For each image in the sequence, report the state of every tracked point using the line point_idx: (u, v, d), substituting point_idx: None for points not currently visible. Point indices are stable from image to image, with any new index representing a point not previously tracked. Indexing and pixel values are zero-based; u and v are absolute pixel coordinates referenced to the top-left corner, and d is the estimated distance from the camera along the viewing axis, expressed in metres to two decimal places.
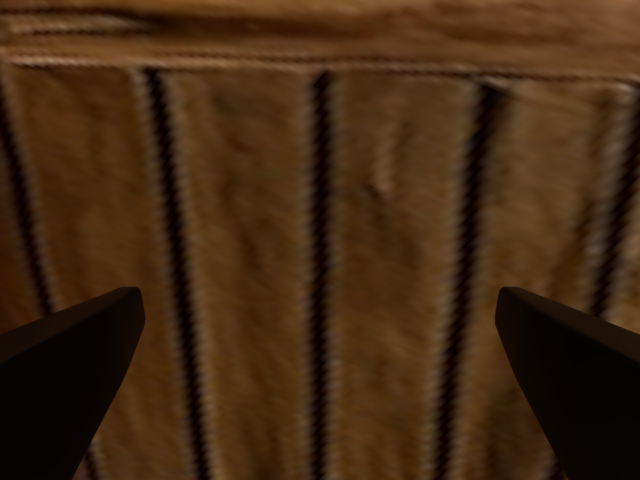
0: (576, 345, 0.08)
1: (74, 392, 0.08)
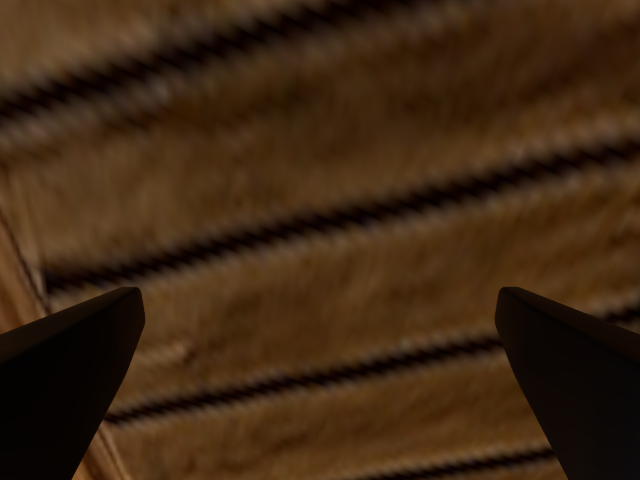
0: (576, 345, 0.08)
1: (74, 392, 0.08)
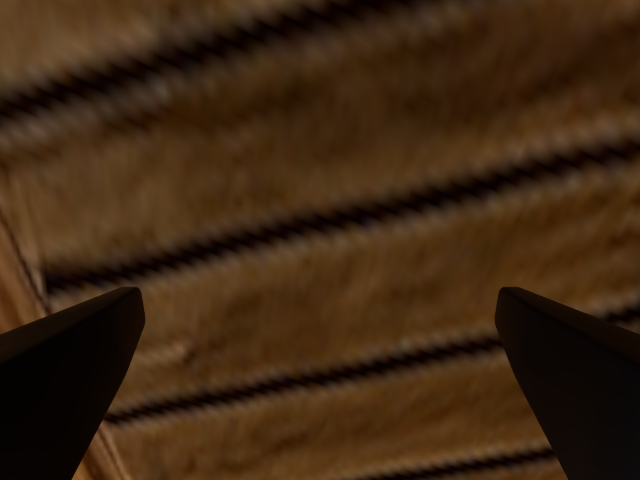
0: (576, 345, 0.08)
1: (74, 392, 0.08)
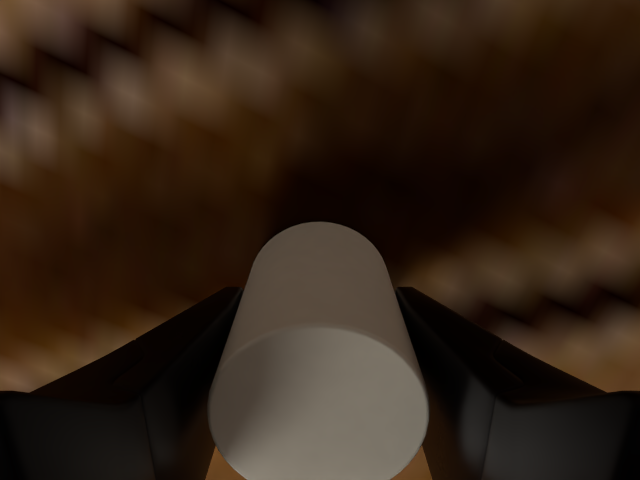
0: (434, 345, 0.08)
1: (208, 392, 0.08)
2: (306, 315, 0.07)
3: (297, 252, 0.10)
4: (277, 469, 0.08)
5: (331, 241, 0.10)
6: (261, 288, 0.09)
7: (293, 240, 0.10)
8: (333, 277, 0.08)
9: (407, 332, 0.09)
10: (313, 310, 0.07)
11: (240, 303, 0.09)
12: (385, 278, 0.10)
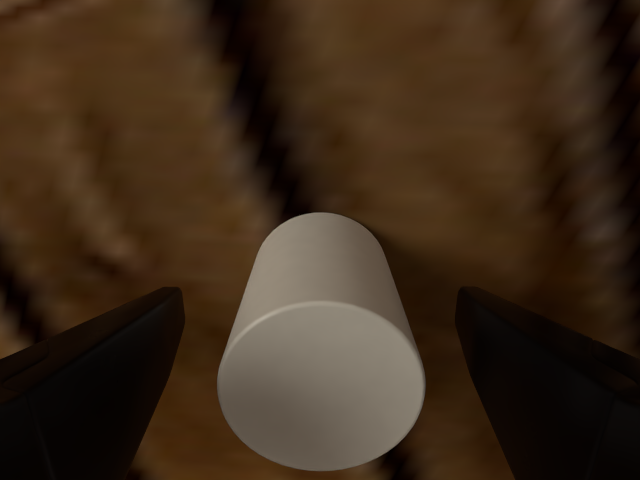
0: (520, 345, 0.08)
1: (127, 392, 0.08)
2: (309, 294, 0.08)
3: (300, 240, 0.10)
4: (282, 441, 0.08)
5: (333, 230, 0.11)
6: (267, 273, 0.09)
7: (296, 229, 0.11)
8: (335, 261, 0.09)
9: (404, 314, 0.09)
10: (316, 290, 0.08)
11: (246, 288, 0.10)
12: (384, 265, 0.10)
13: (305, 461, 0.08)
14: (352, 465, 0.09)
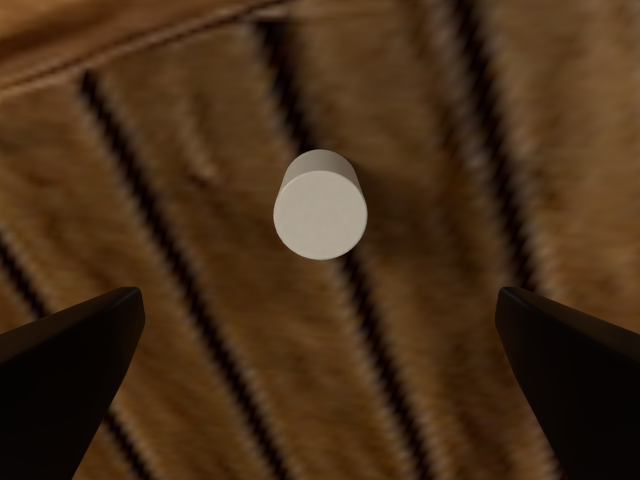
0: (576, 345, 0.08)
1: (74, 392, 0.08)
2: (315, 169, 0.17)
3: (310, 158, 0.20)
4: (302, 242, 0.18)
5: (326, 155, 0.20)
6: (294, 170, 0.19)
7: (307, 155, 0.21)
8: (327, 162, 0.19)
9: (360, 188, 0.19)
10: (318, 168, 0.17)
11: (283, 181, 0.20)
12: (353, 172, 0.20)
13: (313, 253, 0.18)
14: (335, 256, 0.18)
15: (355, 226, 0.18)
